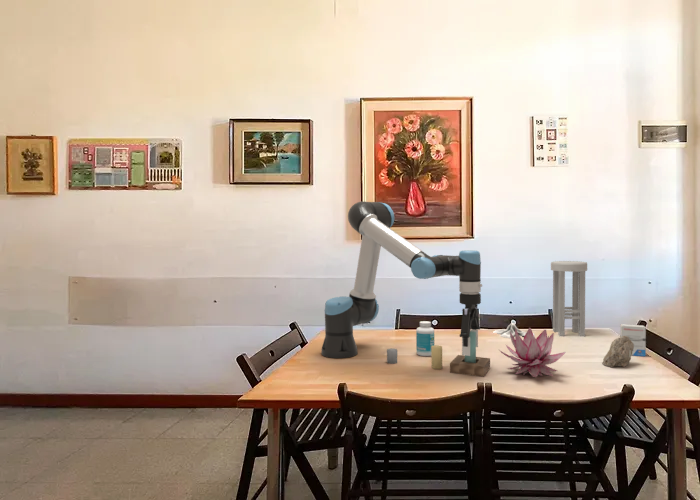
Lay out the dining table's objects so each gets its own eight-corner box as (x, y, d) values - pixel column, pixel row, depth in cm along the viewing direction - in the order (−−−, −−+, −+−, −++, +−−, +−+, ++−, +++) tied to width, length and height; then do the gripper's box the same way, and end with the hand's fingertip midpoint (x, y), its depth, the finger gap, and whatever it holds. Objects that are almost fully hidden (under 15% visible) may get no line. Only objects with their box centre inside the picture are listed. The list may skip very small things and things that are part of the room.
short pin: (385, 363, 183) (385, 350, 183) (389, 360, 187) (389, 348, 187) (395, 364, 182) (394, 351, 181) (398, 361, 185) (398, 349, 185)
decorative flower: (559, 387, 153) (559, 341, 152) (493, 377, 164) (492, 334, 164) (568, 369, 171) (568, 328, 170) (508, 362, 182) (508, 323, 182)
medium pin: (430, 368, 175) (430, 347, 175) (433, 365, 179) (433, 344, 179) (440, 369, 174) (440, 348, 173) (443, 366, 177) (443, 345, 177)
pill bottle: (434, 357, 191) (434, 324, 190) (415, 356, 192) (415, 323, 192) (434, 352, 198) (434, 320, 198) (417, 351, 200) (416, 320, 199)
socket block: (450, 372, 170) (449, 362, 170) (458, 363, 181) (458, 354, 181) (483, 376, 165) (483, 366, 164) (490, 367, 175) (490, 358, 175)
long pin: (463, 370, 172) (463, 332, 171) (466, 367, 175) (466, 330, 175) (474, 372, 170) (474, 333, 169) (477, 369, 174) (476, 331, 173)
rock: (627, 354, 167) (604, 343, 173) (619, 377, 172) (597, 366, 177) (642, 340, 175) (620, 330, 181) (634, 362, 180) (612, 352, 185)
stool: (547, 330, 238) (547, 261, 236) (579, 330, 236) (580, 260, 234) (556, 337, 222) (556, 263, 221) (591, 337, 220) (591, 263, 219)
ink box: (643, 353, 191) (644, 325, 191) (645, 356, 187) (646, 327, 186) (619, 351, 195) (620, 323, 194) (621, 354, 190) (621, 325, 190)
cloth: (543, 338, 222) (543, 325, 222) (508, 341, 218) (508, 328, 218) (516, 329, 244) (516, 317, 243) (483, 331, 240) (483, 319, 239)
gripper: (473, 297, 159) (473, 360, 160) (487, 289, 181) (487, 344, 182) (451, 296, 162) (451, 358, 163) (467, 288, 184) (467, 342, 185)
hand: (470, 350), depth 172 cm, fingers open, 13 cm apart
